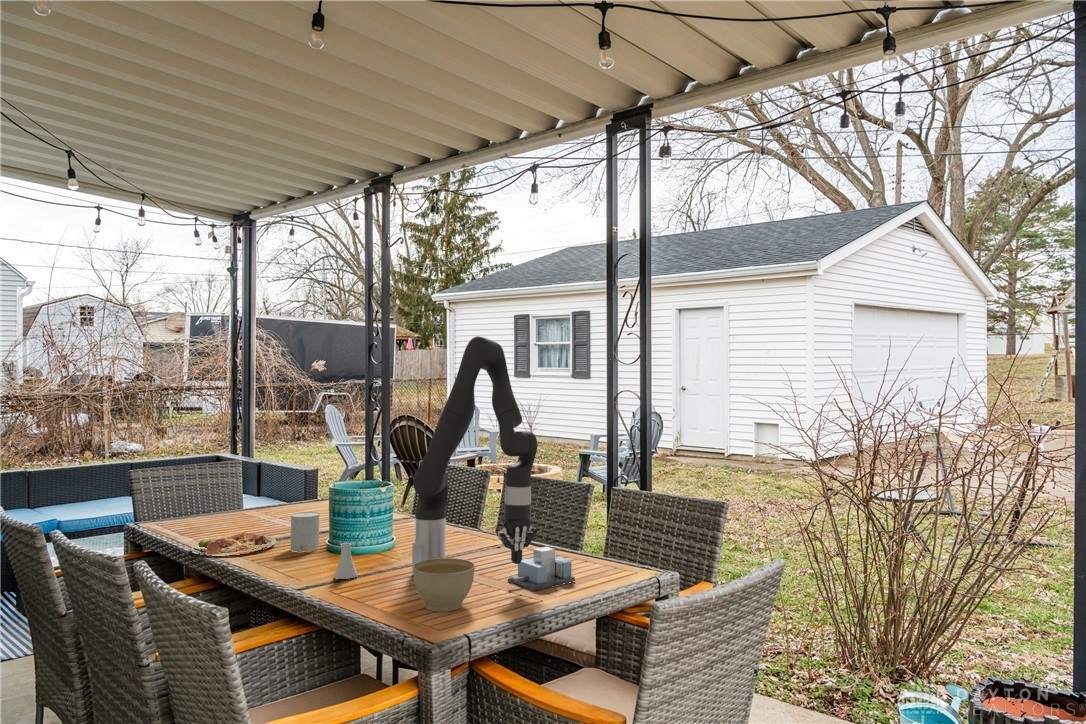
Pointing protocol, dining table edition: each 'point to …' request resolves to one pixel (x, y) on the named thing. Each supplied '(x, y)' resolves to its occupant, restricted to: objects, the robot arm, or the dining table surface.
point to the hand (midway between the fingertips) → (516, 563)
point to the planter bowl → (443, 582)
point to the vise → (560, 577)
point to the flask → (345, 564)
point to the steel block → (545, 559)
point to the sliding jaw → (530, 572)
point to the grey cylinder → (304, 531)
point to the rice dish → (235, 543)
